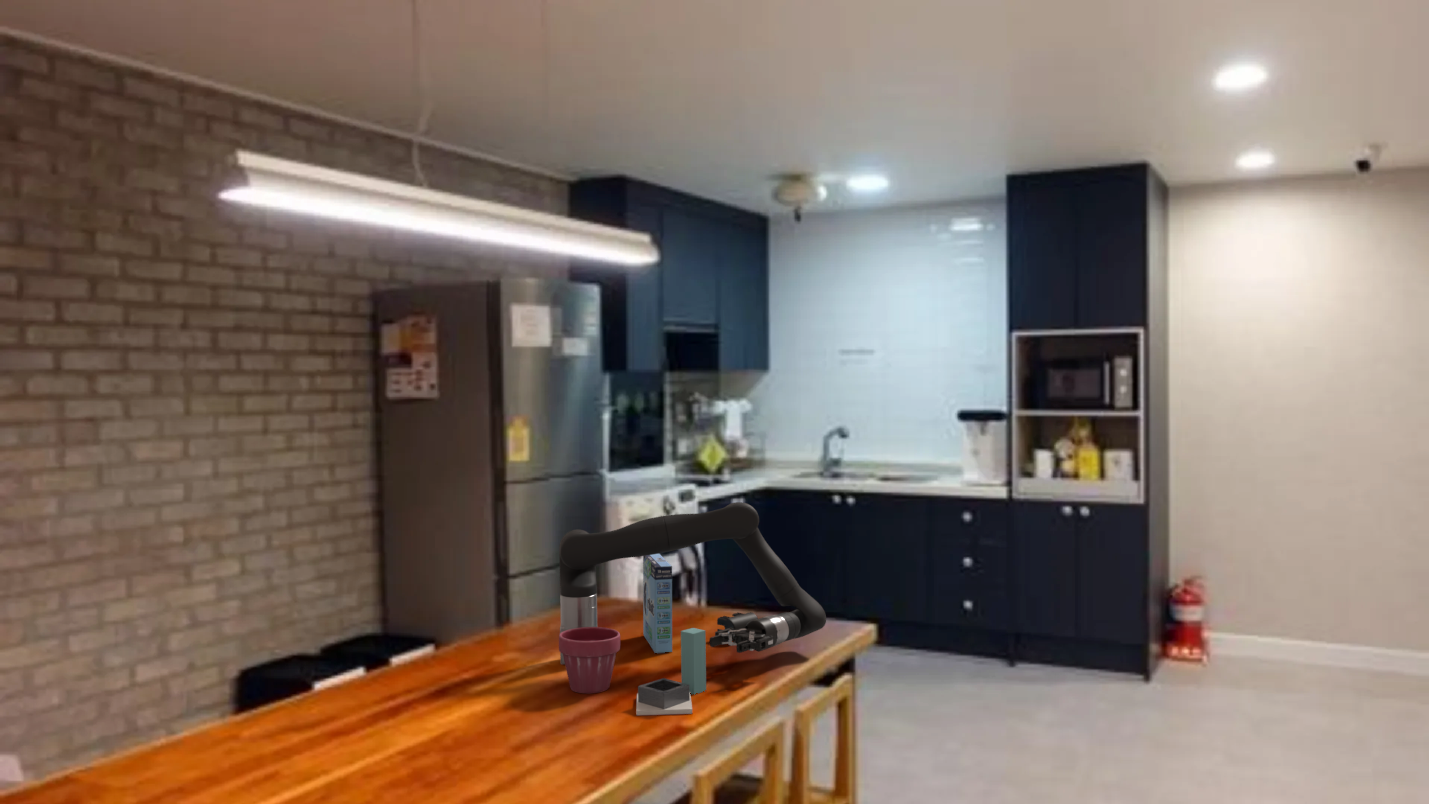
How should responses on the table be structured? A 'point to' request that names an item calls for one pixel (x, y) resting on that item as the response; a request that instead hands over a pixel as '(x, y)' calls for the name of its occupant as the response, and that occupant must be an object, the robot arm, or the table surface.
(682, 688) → the metal collar
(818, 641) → the table surface
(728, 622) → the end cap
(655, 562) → the light blue cardboard box
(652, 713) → the base board
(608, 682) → the plant pot
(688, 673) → the teal peg
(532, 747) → the table surface
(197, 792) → the table surface
